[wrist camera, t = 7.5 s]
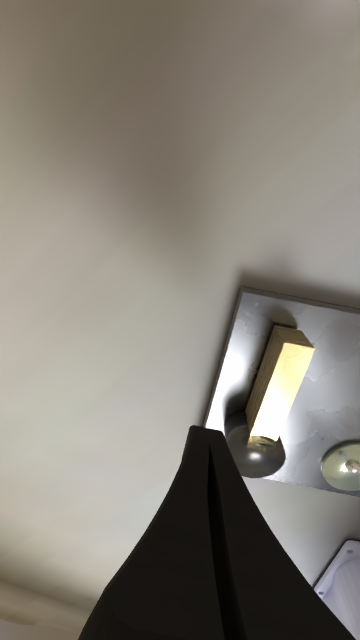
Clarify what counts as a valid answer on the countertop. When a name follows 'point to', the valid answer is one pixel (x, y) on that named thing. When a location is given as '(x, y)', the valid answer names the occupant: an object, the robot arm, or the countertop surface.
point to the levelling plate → (314, 391)
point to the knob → (269, 405)
